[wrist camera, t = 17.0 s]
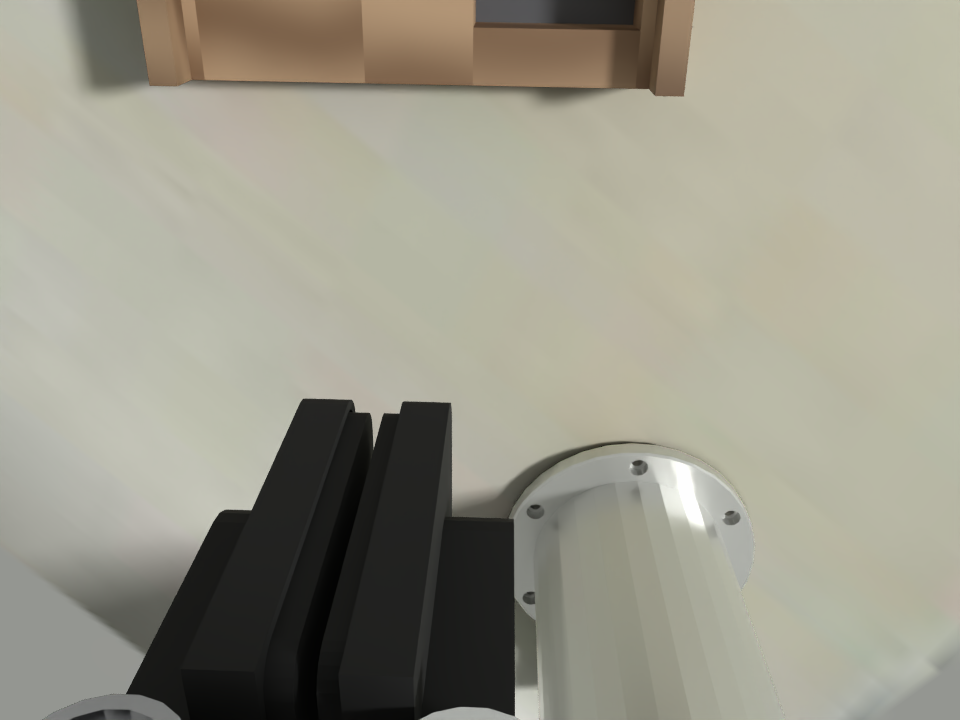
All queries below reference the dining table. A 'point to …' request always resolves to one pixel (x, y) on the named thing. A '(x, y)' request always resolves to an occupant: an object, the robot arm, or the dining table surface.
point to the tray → (421, 42)
